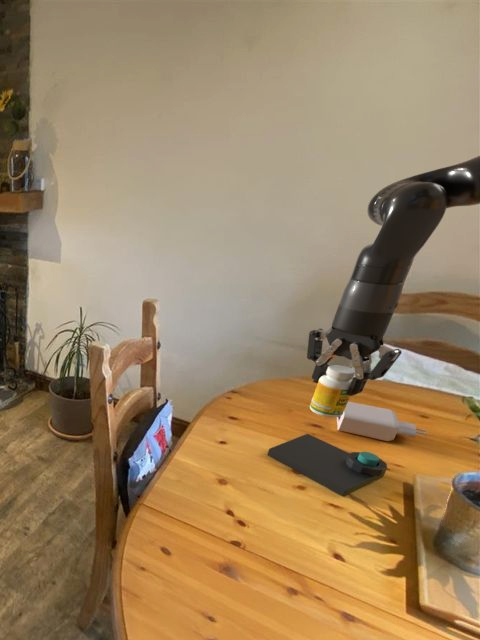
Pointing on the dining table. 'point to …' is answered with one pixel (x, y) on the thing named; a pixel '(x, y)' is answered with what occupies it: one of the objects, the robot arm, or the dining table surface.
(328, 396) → the supplement bottle
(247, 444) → the dining table surface
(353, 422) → the charger
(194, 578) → the dining table surface
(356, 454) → the scale
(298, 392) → the dining table surface
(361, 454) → the tare button
